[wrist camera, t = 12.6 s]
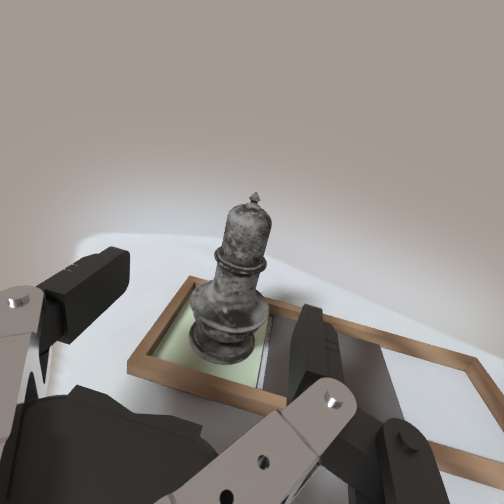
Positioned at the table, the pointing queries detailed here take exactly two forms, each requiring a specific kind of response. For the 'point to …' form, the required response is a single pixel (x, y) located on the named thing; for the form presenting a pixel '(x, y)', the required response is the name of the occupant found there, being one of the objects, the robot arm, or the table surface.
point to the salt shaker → (233, 290)
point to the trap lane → (276, 374)
